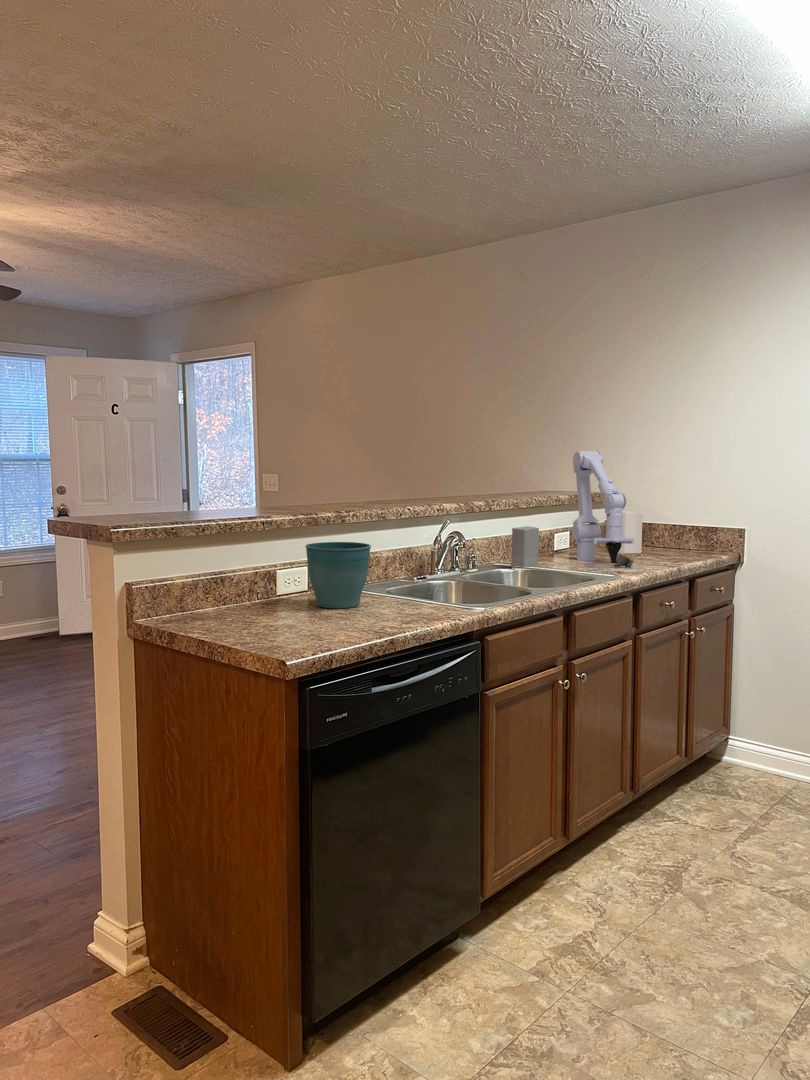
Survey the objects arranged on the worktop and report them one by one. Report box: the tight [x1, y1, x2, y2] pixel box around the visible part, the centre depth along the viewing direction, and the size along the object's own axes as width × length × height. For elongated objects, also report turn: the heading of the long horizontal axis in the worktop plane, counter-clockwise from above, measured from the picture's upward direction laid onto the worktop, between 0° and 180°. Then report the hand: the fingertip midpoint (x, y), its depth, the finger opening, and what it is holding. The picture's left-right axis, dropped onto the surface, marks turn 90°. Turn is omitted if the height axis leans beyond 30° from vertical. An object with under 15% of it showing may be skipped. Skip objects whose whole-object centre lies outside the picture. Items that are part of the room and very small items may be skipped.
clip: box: [615, 553, 634, 567], centre depth 297 cm, size 5×5×4 cm
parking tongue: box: [554, 561, 579, 566], centre depth 304 cm, size 8×8×2 cm
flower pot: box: [305, 541, 372, 609], centre depth 223 cm, size 18×18×17 cm
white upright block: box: [615, 510, 644, 553], centre depth 344 cm, size 11×11×18 cm
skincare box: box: [510, 525, 540, 568], centre depth 298 cm, size 8×7×16 cm
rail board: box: [581, 562, 644, 570], centre depth 298 cm, size 14×20×2 cm
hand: (613, 563), depth 297 cm, fingers closed
